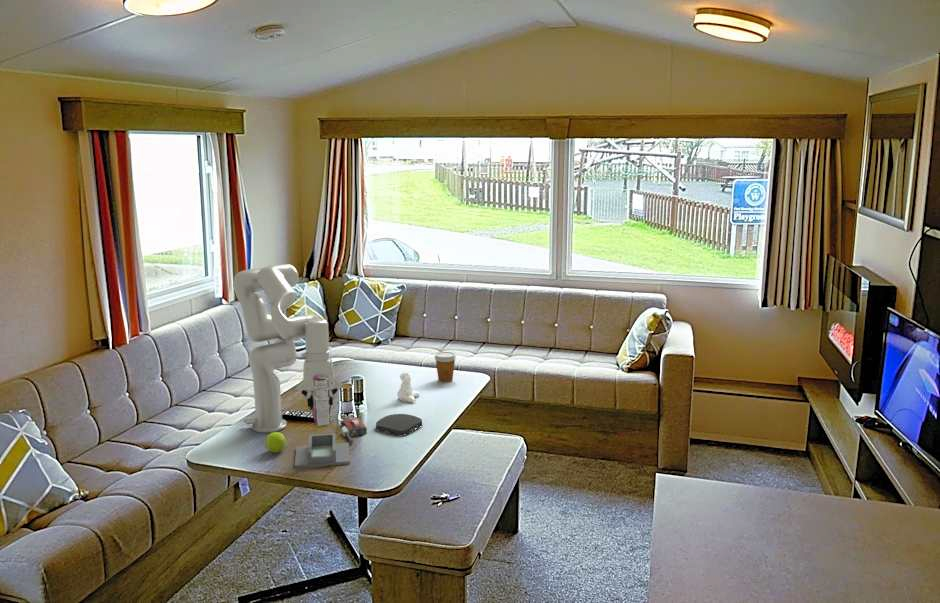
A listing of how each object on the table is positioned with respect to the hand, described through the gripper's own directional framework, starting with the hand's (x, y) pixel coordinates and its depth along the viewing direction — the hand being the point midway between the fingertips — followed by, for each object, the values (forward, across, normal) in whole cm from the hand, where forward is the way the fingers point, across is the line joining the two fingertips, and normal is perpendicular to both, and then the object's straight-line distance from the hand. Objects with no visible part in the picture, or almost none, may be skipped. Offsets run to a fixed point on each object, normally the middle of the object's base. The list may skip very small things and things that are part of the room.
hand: (320, 407), depth 257 cm
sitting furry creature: (+18, +34, +52) cm, 65 cm away
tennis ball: (+18, -16, +7) cm, 25 cm away
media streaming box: (+18, +28, +22) cm, 40 cm away
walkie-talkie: (+18, +11, +19) cm, 29 cm away
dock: (+18, 0, 0) cm, 18 cm away
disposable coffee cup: (+18, +53, +74) cm, 93 cm away
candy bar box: (+5, 0, 0) cm, 5 cm away
